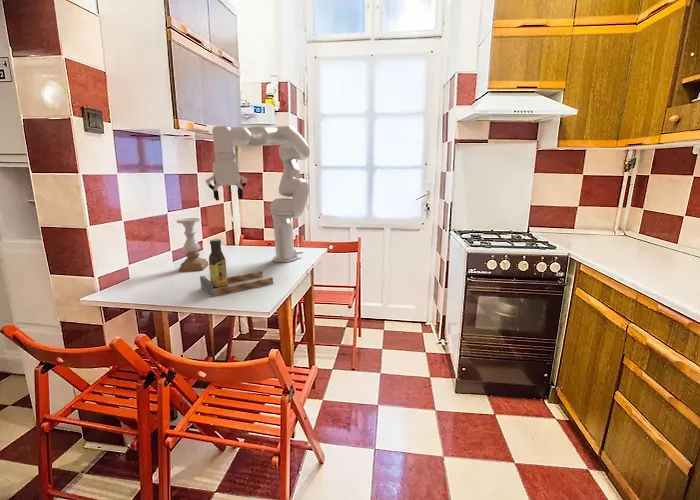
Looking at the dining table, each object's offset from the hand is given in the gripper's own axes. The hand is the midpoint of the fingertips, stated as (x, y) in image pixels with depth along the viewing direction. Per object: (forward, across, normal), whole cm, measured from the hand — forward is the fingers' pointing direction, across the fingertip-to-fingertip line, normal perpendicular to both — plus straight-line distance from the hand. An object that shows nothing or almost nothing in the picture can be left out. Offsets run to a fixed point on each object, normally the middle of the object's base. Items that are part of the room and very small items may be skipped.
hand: (228, 199), depth 155 cm
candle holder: (+34, +12, -28) cm, 46 cm away
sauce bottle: (+34, +11, +13) cm, 38 cm away
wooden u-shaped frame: (+34, +3, +13) cm, 37 cm away
